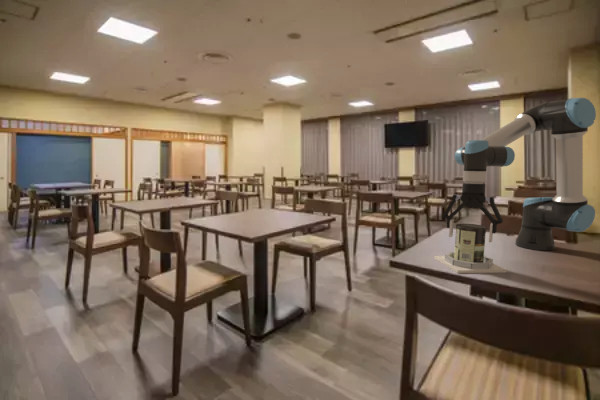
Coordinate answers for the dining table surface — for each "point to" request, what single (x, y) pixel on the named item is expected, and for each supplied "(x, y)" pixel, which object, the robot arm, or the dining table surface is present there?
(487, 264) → the can holder
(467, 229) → the coffee can
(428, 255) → the dining table surface
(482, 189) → the robot arm
